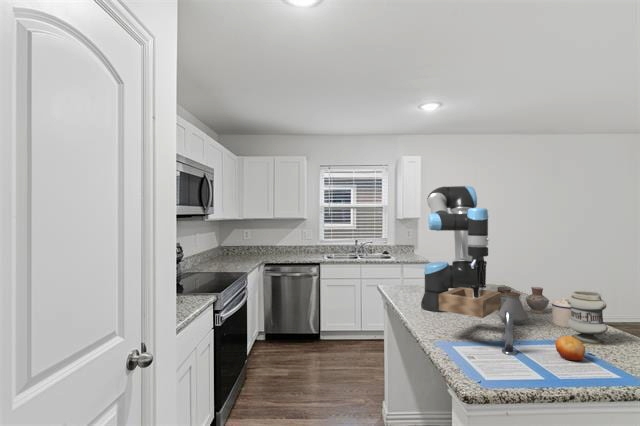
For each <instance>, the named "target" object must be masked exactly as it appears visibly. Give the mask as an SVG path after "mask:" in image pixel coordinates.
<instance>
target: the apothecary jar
mask: <svg viewBox="0 0 640 426" xmlns="http://www.w3.org/2000/svg"><path fill="white" fill-rule="evenodd" d="M567 302H568V304H569V305H570V306H571V318H570V319H569V320H568V326H569V327H570V328H569V329H571V330H573V331H575V332H577V333H576V334H572V335H571V336H572V337H574V338H576V339H578V340H580V341H581V342H582V343H583V344H585V345H590V346H591V345H592V346H601V345H604V340H603V339H601V338H599V337H597V336H601V335H603V334H605V333H606V332H607V331H608V329H609V328H608V325H607V324H606V322H604V318H603V317H604V316H603V311H604V310H605V309H606V308H607V303H606V301H604V300H603V299H602V297H601V294H600V293H599V292H594V291H590V290H589V291H586V290H574V291H572V295H571V296H570V297H569V298H567Z"/></svg>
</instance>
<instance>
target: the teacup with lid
mask: <svg viewBox="0 0 640 426" xmlns="http://www.w3.org/2000/svg"><path fill="white" fill-rule="evenodd" d="M567 300H568V297H561V299H559V300H555V301H553V302H551V305H552V307H551V309H552V310H551V311H552V312H551V313H552V320H551V321H552V324H553V325H554V326H557V327H561V328H567V329H571V328H570V327H569V326H568V320H569V319H570V318H571V306H570V305H569V304H568V302H567Z"/></svg>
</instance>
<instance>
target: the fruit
mask: <svg viewBox="0 0 640 426" xmlns="http://www.w3.org/2000/svg"><path fill="white" fill-rule="evenodd" d="M555 349H556V351H557V353H558V355H559V356H560V357H562V358H563V360H567V361H581V360H583V359H584V358H585V356H586V355H585V354H586V346H585V345H584V343H582V342H581V341H580V340H578V339H576V338H574V337H572V335H565V336H564V335H563V336H560V337H558V338H557V339H556V340H555Z"/></svg>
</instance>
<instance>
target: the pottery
mask: <svg viewBox="0 0 640 426" xmlns="http://www.w3.org/2000/svg"><path fill="white" fill-rule="evenodd" d="M496 289H497V292H501V297H502V298H505V299H506V294H505V292H512V288H511V287H507V286H498V287H497V288H496ZM543 290H544V288H543V287H541V286H540V287H539V286H531V292H532V293H531V294H528V296H527V295H526V297H525V302H526V304H527V306H528V307H529V308H530V312H531V313H535V314H544V313H545V311H544V310H546V309H547V307H548V305H549V303H550V300H549V298H547V297H546V296H544V295H543ZM503 303H504V300H502V299H501V307H502V305H503ZM500 309H501V308H500ZM500 309H499V310H500Z"/></svg>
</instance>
